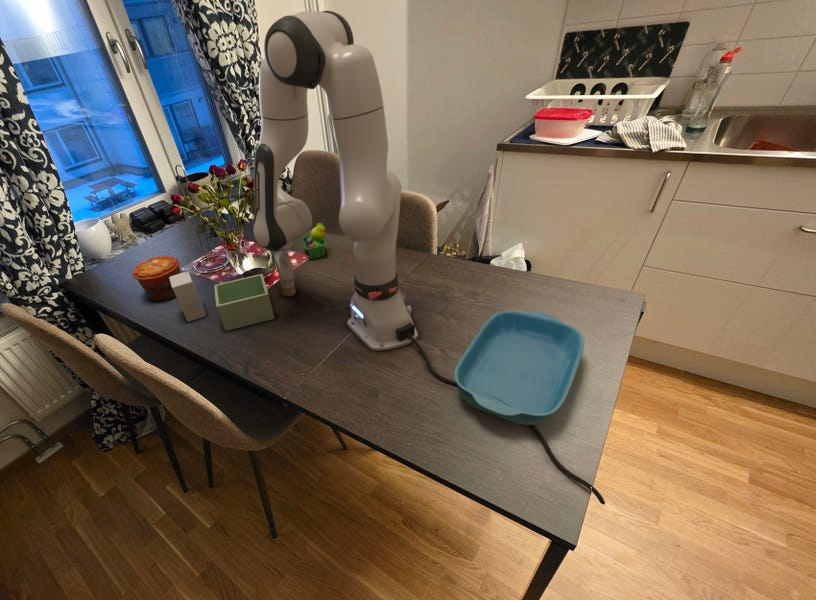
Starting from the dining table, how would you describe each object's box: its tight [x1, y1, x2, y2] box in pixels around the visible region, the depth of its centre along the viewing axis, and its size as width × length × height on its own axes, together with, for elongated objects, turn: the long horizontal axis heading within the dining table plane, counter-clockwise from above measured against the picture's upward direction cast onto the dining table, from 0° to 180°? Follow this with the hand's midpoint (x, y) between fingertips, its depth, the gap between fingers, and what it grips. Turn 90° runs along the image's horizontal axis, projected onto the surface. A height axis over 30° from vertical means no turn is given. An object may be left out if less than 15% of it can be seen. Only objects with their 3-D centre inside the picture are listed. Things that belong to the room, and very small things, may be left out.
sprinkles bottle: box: [274, 257, 297, 297], centre depth 127 cm, size 5×5×14 cm
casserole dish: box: [453, 310, 585, 426], centre depth 89 cm, size 37×22×7 cm, turn 145°
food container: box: [132, 255, 182, 302], centre depth 138 cm, size 16×16×11 cm
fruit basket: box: [301, 222, 327, 260], centre depth 149 cm, size 11×9×11 cm
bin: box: [213, 273, 276, 332], centre depth 122 cm, size 14×16×9 cm
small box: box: [169, 271, 207, 323], centre depth 124 cm, size 8×6×13 cm
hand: (286, 280), depth 128 cm, fingers closed on sprinkles bottle, 4 cm apart
